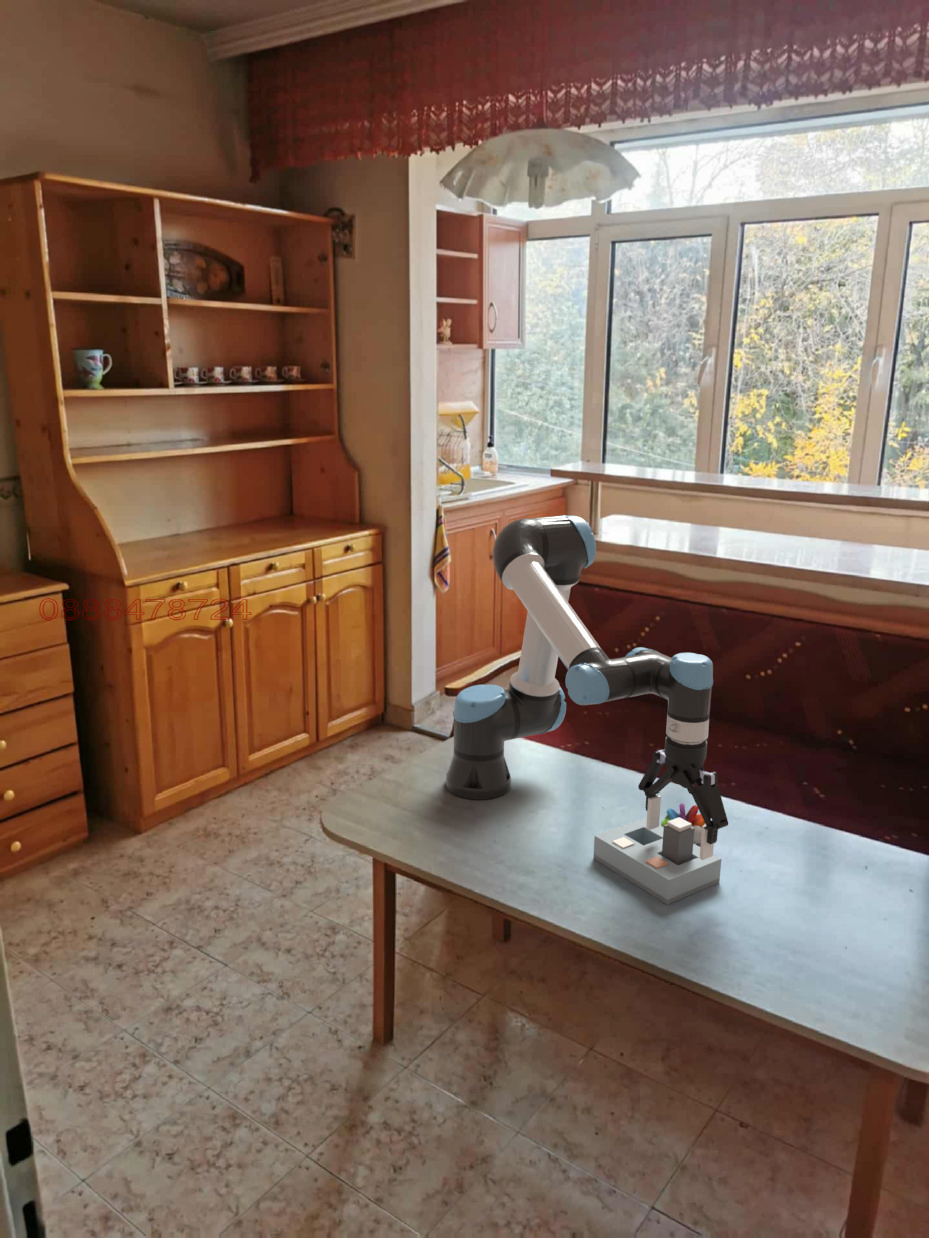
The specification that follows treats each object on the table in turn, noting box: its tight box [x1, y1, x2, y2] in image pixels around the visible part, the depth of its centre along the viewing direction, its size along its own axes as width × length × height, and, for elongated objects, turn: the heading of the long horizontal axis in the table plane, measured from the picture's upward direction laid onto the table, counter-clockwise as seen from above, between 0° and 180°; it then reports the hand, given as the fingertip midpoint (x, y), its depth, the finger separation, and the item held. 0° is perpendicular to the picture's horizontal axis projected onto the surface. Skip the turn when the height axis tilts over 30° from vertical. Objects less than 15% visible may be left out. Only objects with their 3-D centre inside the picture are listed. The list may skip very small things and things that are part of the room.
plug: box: [662, 817, 695, 865], centre depth 177 cm, size 4×4×11 cm
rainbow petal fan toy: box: [660, 803, 706, 845], centre depth 194 cm, size 8×10×7 cm
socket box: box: [593, 817, 722, 905], centre depth 181 cm, size 20×14×5 cm
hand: (678, 842), depth 177 cm, fingers open, 13 cm apart
